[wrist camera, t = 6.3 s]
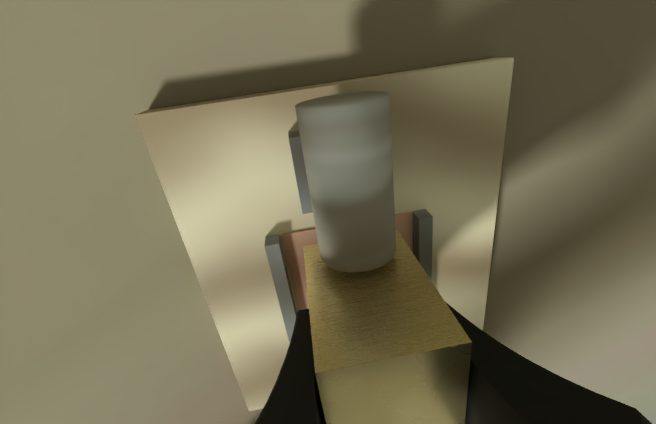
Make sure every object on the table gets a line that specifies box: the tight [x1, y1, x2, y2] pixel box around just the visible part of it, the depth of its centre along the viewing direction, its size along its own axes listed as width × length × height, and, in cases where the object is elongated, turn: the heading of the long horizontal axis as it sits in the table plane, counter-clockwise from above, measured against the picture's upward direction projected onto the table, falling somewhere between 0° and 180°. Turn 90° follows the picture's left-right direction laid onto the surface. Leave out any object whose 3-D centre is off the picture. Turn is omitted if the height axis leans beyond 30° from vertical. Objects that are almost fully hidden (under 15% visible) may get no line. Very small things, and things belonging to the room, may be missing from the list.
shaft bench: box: [135, 58, 514, 411], centre depth 14 cm, size 17×14×5 cm
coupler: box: [303, 230, 472, 424], centre depth 12 cm, size 4×4×6 cm
